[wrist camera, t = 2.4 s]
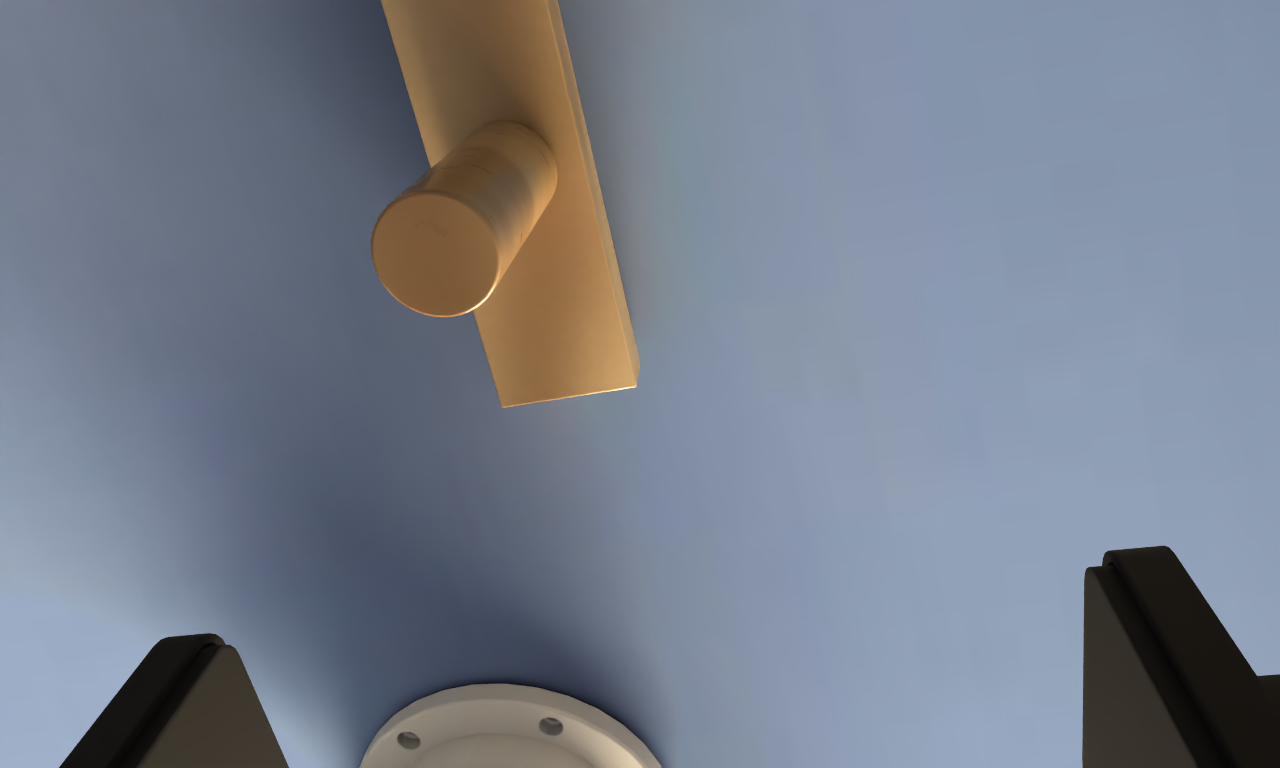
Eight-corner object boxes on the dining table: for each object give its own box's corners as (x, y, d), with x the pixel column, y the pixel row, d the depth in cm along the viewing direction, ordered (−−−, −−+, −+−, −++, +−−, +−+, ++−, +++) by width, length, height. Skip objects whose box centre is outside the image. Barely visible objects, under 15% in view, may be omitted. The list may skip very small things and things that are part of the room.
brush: (521, 365, 31) (435, 549, 22) (392, -89, 26) (213, -88, 17) (645, 345, 31) (608, 526, 22) (539, -125, 25) (434, -143, 16)
